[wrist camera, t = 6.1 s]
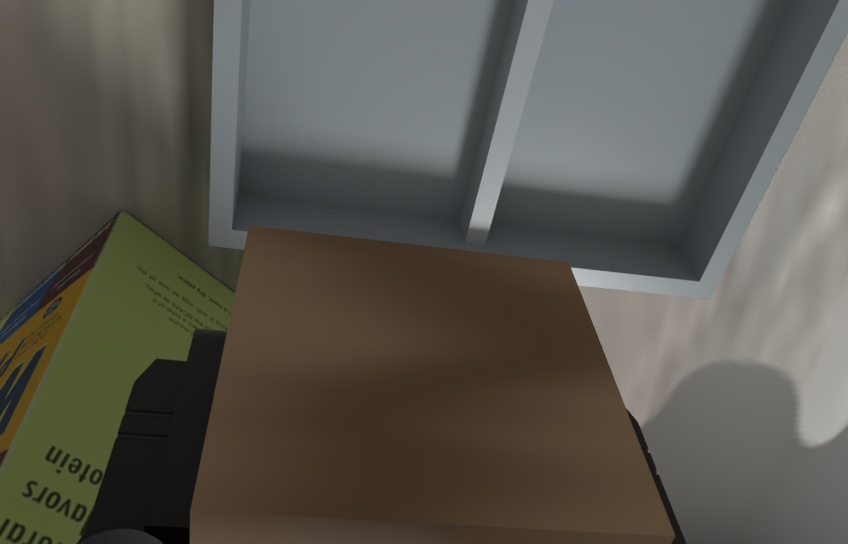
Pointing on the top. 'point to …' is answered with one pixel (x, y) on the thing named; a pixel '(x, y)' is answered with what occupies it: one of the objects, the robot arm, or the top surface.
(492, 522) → the walnut cube
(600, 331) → the top surface
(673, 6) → the tray
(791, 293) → the top surface
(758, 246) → the top surface
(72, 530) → the protein box
